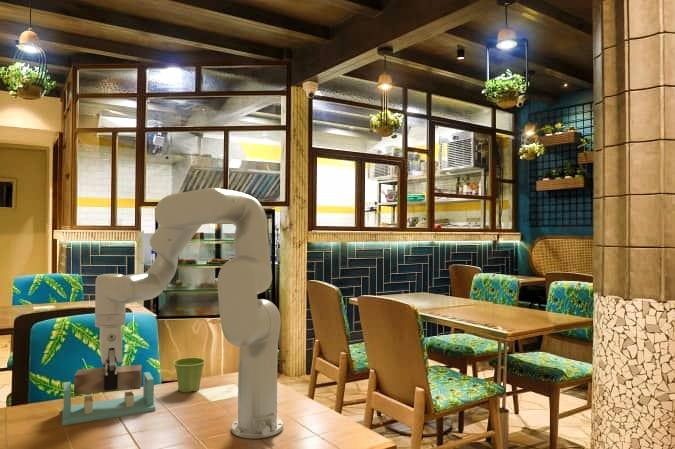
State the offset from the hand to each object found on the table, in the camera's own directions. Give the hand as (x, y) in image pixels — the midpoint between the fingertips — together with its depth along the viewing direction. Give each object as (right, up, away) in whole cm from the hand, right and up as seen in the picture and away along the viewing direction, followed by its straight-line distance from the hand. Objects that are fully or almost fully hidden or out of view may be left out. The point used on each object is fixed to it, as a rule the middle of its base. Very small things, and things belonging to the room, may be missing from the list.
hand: (109, 385), depth 134 cm
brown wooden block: (0, -1, 0) cm, 1 cm away
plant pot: (+16, -7, +18) cm, 25 cm away
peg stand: (0, -7, 0) cm, 7 cm away
